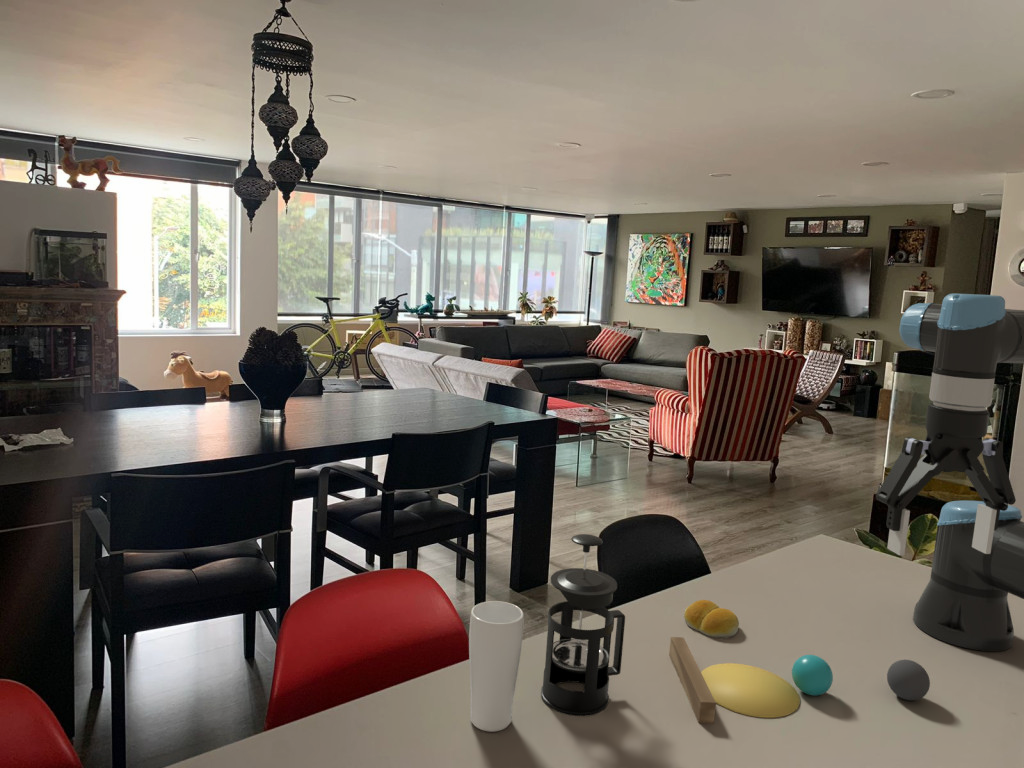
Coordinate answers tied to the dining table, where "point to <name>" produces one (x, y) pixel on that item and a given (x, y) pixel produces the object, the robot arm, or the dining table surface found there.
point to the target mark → (750, 690)
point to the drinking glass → (494, 662)
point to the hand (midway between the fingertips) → (938, 551)
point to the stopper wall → (692, 681)
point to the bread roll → (711, 619)
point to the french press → (582, 639)
